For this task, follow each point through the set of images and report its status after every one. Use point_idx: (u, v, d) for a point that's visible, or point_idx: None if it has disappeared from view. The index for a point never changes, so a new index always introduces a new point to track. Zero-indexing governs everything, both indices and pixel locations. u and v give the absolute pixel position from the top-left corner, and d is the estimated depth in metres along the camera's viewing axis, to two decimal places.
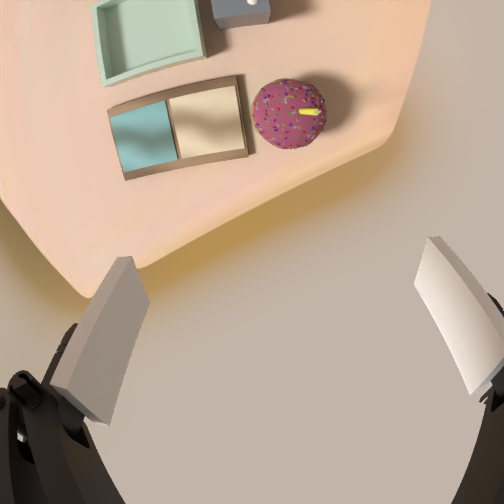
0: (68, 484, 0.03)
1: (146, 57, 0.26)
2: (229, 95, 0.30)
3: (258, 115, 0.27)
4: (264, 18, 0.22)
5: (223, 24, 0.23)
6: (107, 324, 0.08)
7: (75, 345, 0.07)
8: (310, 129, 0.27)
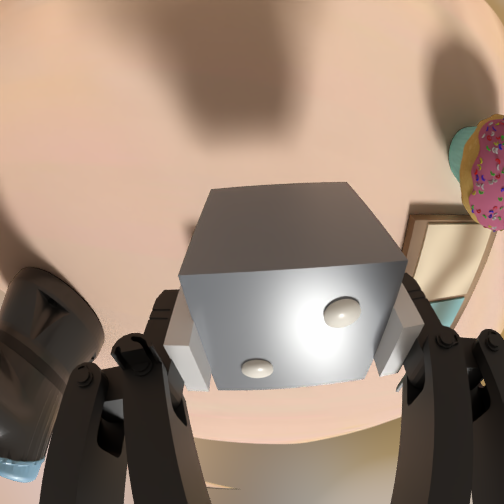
0: (167, 469, 0.04)
1: None
2: (436, 232, 0.19)
3: (501, 228, 0.13)
4: None
5: None
6: None
7: (185, 304, 0.08)
8: None
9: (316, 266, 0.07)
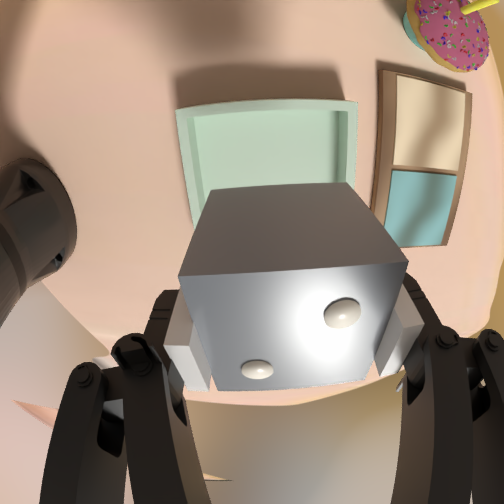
0: (167, 469, 0.04)
1: None
2: (408, 86, 0.17)
3: (462, 61, 0.12)
4: None
5: None
6: None
7: (185, 304, 0.08)
8: (476, 12, 0.08)
9: (316, 267, 0.07)
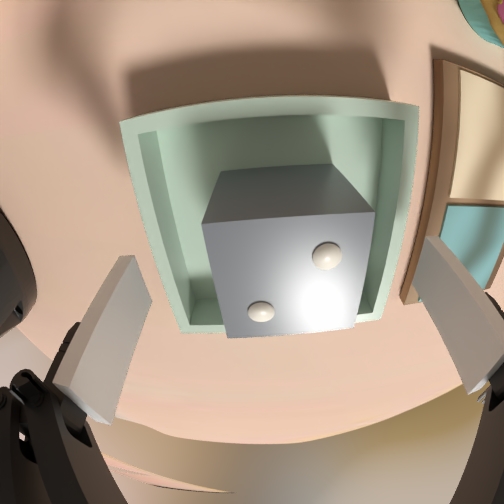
0: (70, 483, 0.03)
1: None
2: (472, 86, 0.10)
3: None
4: None
5: None
6: (110, 323, 0.09)
7: (78, 344, 0.07)
8: None
9: (303, 215, 0.09)
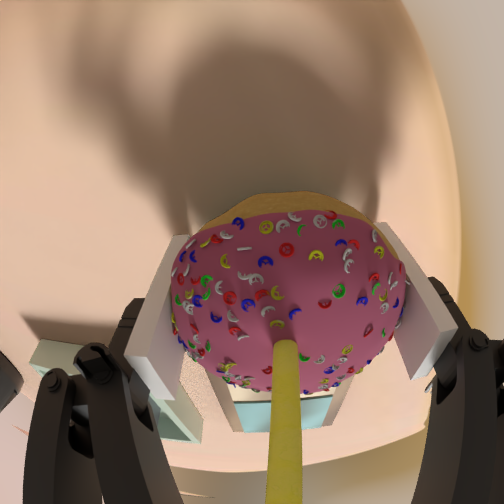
0: (131, 472, 0.04)
1: None
2: None
3: None
4: None
5: None
6: None
7: (148, 315, 0.08)
8: (363, 310, 0.07)
9: None
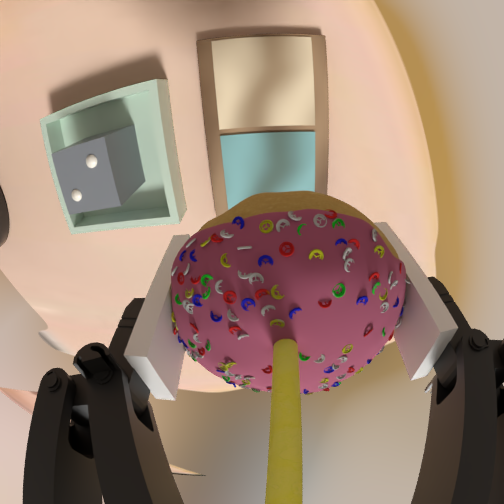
0: (132, 472, 0.04)
1: (153, 160, 0.24)
2: (227, 48, 0.18)
3: None
4: (122, 135, 0.20)
5: (133, 184, 0.23)
6: None
7: (149, 315, 0.08)
8: (363, 309, 0.07)
9: (79, 144, 0.17)
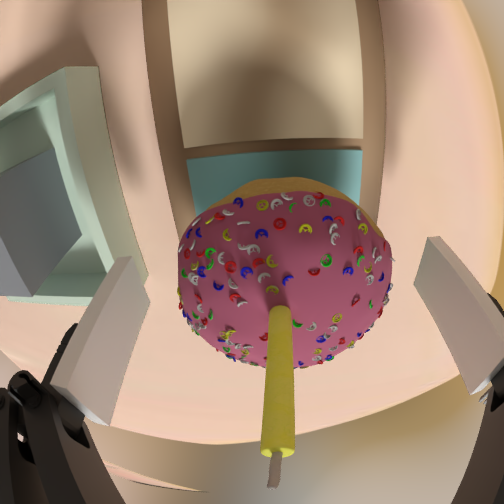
0: (68, 484, 0.03)
1: None
2: None
3: None
4: (24, 174, 0.10)
5: (56, 249, 0.12)
6: (107, 324, 0.08)
7: (75, 345, 0.07)
8: (349, 279, 0.08)
9: None
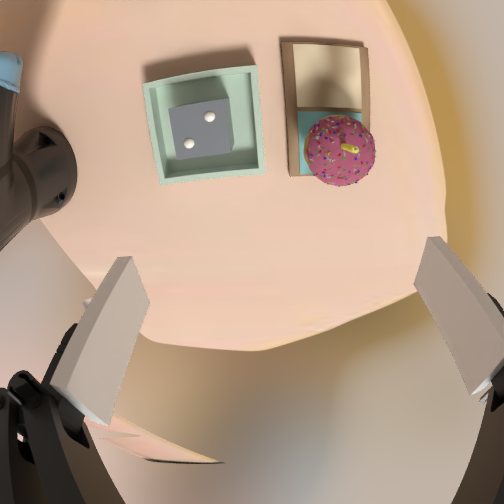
0: (68, 484, 0.03)
1: (243, 126, 0.32)
2: (303, 50, 0.26)
3: (340, 183, 0.29)
4: (227, 103, 0.28)
5: (232, 141, 0.30)
6: (107, 324, 0.08)
7: (75, 345, 0.07)
8: (361, 138, 0.26)
9: (199, 102, 0.25)
